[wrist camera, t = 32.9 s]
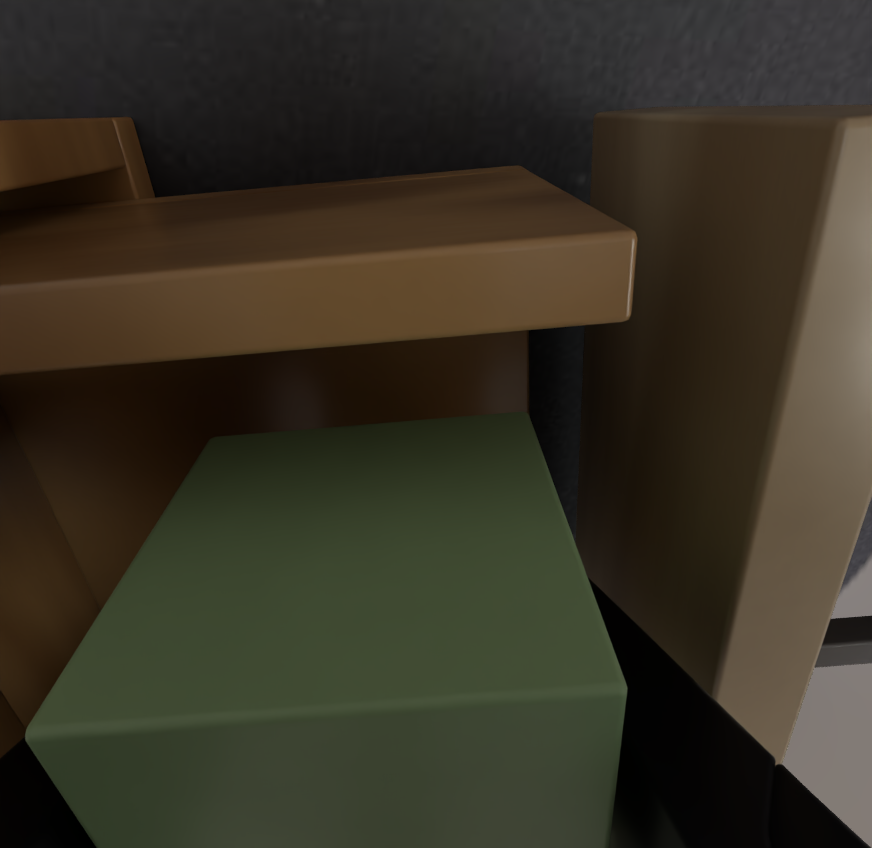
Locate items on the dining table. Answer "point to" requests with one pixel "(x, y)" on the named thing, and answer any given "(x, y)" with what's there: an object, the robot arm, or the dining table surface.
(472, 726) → the block
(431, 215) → the drawer
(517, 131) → the dining table surface
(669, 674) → the robot arm
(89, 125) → the cabinet
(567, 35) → the dining table surface
